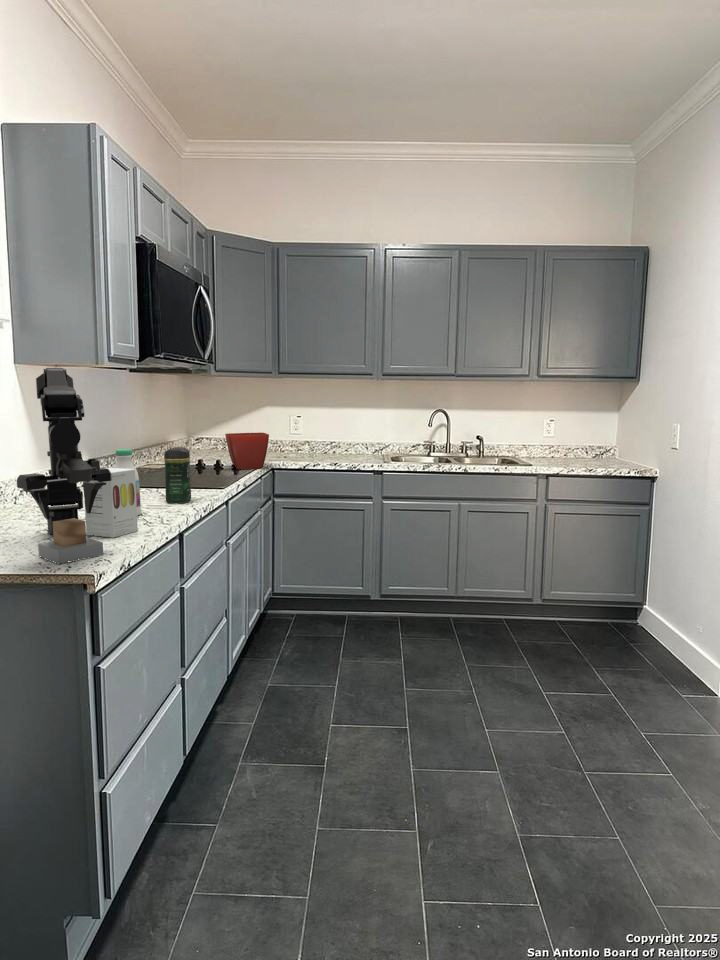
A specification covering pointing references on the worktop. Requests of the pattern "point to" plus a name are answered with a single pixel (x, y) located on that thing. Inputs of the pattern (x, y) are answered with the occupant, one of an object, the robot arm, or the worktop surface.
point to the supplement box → (114, 506)
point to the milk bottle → (126, 463)
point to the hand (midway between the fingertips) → (68, 516)
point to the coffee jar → (177, 475)
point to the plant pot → (247, 449)
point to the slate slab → (70, 551)
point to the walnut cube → (69, 532)
